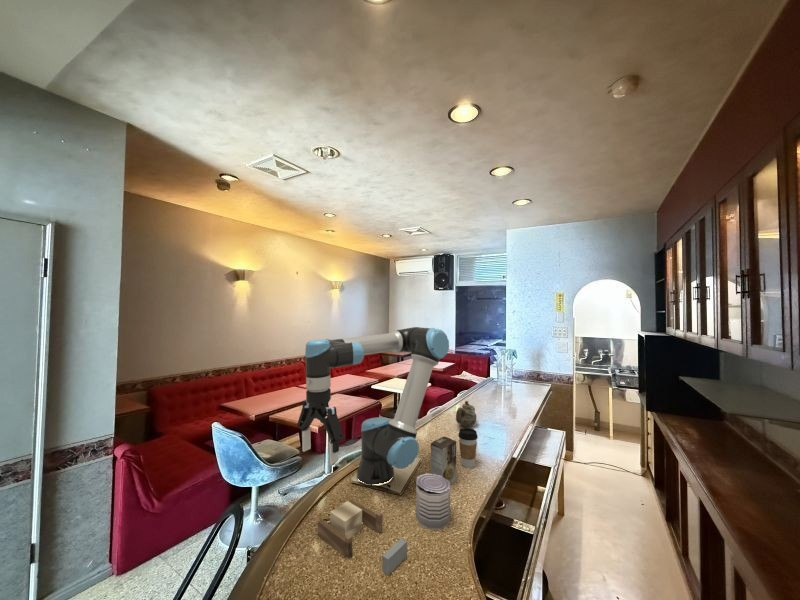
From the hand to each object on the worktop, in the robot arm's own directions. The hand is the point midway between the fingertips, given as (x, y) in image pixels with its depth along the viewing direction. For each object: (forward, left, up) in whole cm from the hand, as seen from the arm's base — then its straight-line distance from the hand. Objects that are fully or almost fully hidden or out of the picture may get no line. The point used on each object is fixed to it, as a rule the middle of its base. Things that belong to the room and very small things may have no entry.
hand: (319, 455), depth 98 cm
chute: (-5, +9, -22) cm, 25 cm away
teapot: (-105, -3, -23) cm, 107 cm away
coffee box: (-47, +17, -23) cm, 55 cm away
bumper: (-5, +27, -22) cm, 36 cm away
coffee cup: (-66, +18, -23) cm, 72 cm away
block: (-5, +7, -22) cm, 24 cm away
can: (-27, +25, -23) cm, 43 cm away
